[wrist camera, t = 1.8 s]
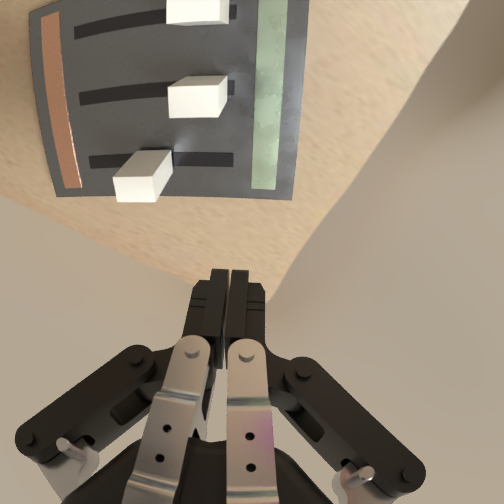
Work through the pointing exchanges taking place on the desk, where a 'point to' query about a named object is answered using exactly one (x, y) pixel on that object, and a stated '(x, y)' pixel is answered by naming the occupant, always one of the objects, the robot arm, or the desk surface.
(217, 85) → the switch middle
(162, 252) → the desk surface
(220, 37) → the switch panel
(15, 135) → the desk surface
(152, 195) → the switch
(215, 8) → the switch
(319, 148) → the desk surface
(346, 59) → the desk surface
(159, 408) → the robot arm
